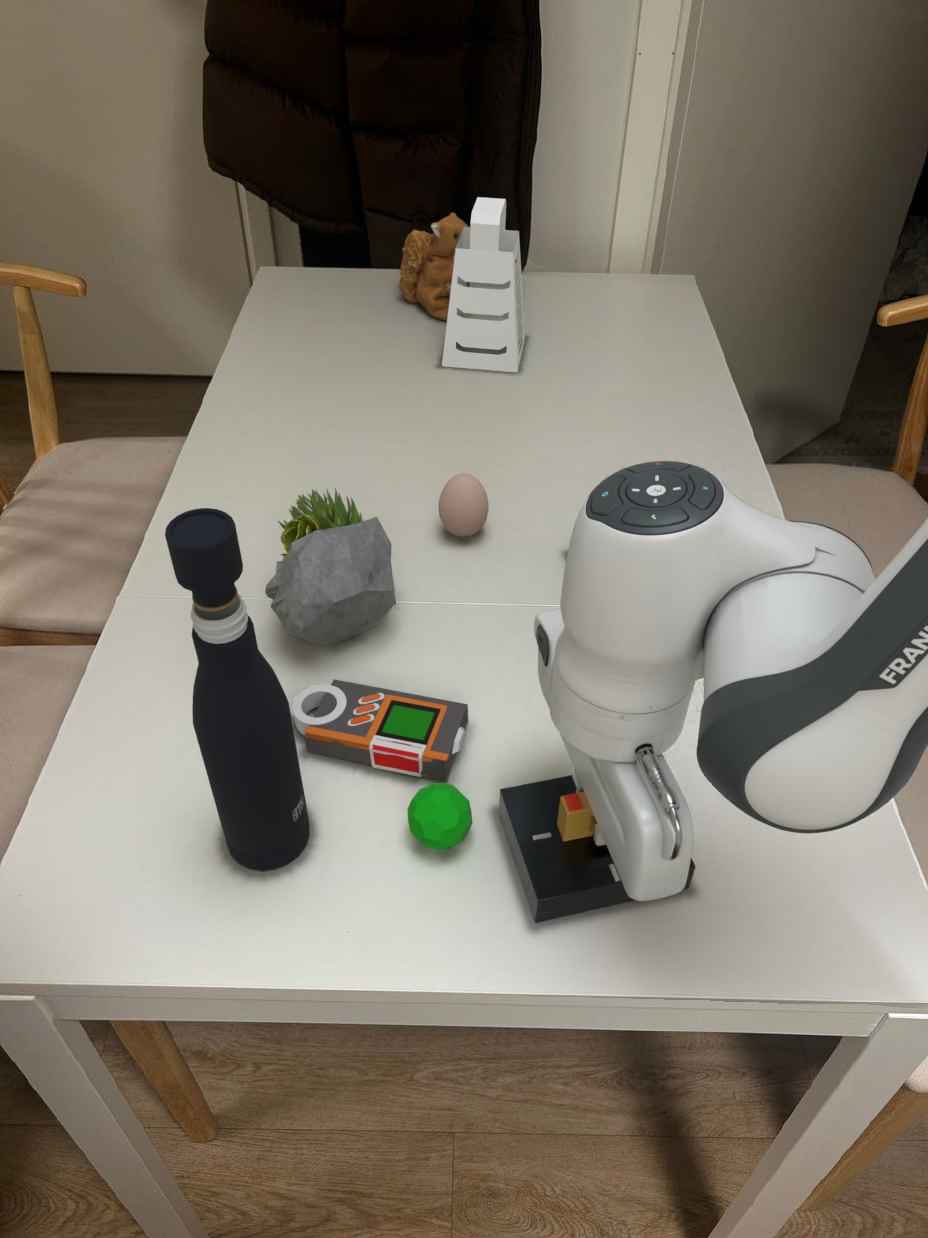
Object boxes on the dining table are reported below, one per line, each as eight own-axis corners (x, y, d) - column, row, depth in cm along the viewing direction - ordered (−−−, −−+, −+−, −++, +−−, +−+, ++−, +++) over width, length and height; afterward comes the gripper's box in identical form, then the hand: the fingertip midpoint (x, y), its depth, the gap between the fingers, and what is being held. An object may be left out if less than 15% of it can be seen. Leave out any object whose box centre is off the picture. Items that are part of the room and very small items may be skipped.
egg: (443, 550, 99) (443, 493, 94) (434, 520, 103) (434, 464, 98) (492, 545, 100) (494, 487, 95) (481, 515, 104) (483, 459, 99)
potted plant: (261, 655, 82) (209, 528, 89) (359, 668, 93) (306, 554, 99) (349, 569, 78) (287, 442, 84) (442, 593, 88) (380, 478, 94)
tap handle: (625, 810, 71) (631, 780, 69) (632, 827, 70) (639, 797, 68) (556, 824, 70) (560, 794, 68) (563, 842, 69) (567, 812, 66)
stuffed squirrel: (459, 326, 138) (460, 235, 129) (380, 303, 143) (376, 215, 134) (493, 302, 144) (496, 214, 135) (416, 281, 149) (415, 195, 140)
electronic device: (307, 671, 82) (471, 702, 79) (312, 694, 84) (472, 725, 81) (275, 727, 78) (448, 762, 74) (281, 750, 80) (450, 785, 76)
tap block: (638, 783, 77) (644, 759, 75) (688, 889, 70) (696, 865, 68) (498, 811, 75) (499, 787, 72) (535, 923, 68) (538, 900, 65)
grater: (524, 337, 135) (533, 193, 122) (517, 372, 128) (526, 223, 114) (453, 332, 136) (454, 188, 123) (441, 366, 129) (441, 217, 115)
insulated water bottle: (222, 812, 74) (137, 504, 54) (302, 793, 76) (249, 486, 55) (232, 881, 70) (144, 572, 49) (317, 859, 71) (265, 551, 51)
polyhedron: (407, 809, 75) (406, 772, 71) (469, 806, 75) (470, 769, 72) (409, 863, 71) (407, 827, 68) (473, 860, 71) (475, 823, 68)
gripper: (736, 814, 53) (693, 936, 63) (610, 586, 68) (590, 713, 77) (632, 836, 52) (604, 957, 62) (527, 599, 67) (517, 726, 76)
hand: (596, 819), depth 70 cm, fingers closed on tap handle, 2 cm apart
